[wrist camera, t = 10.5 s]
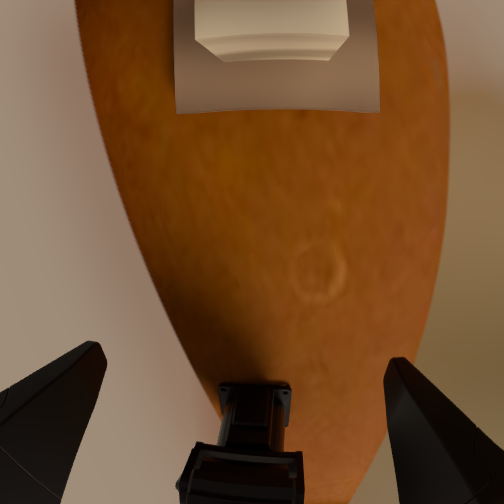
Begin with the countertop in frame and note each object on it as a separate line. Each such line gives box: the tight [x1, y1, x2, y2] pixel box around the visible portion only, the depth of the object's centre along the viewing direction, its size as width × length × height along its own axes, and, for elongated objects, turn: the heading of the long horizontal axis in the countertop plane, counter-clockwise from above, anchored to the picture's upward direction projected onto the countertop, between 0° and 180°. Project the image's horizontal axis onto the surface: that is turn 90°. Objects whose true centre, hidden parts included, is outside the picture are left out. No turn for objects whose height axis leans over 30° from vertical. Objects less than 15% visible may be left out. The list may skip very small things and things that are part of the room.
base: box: [173, 0, 380, 114], centre depth 13 cm, size 10×10×3 cm
